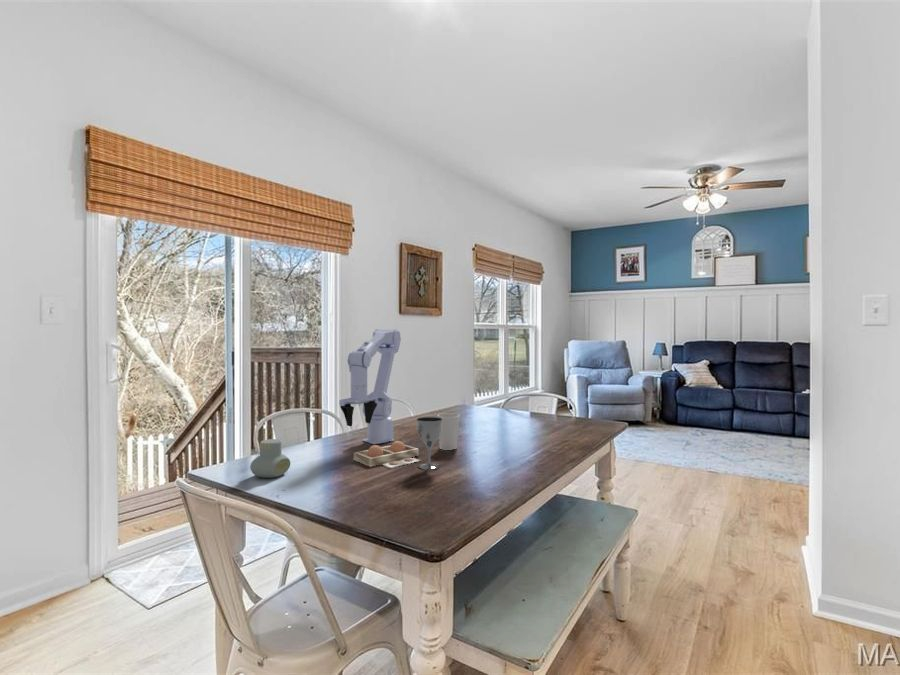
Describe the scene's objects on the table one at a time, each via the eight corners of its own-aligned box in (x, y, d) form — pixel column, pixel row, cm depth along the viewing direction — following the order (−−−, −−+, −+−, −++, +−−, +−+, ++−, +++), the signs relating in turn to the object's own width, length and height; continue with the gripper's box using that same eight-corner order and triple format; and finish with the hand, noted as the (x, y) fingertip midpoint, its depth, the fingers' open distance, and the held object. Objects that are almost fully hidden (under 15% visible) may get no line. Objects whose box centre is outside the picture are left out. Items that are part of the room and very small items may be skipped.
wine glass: (447, 466, 148) (447, 418, 148) (428, 472, 142) (429, 422, 142) (429, 462, 153) (429, 415, 153) (411, 467, 147) (411, 418, 147)
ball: (399, 453, 164) (399, 438, 164) (408, 456, 160) (408, 441, 160) (387, 455, 161) (387, 440, 161) (396, 458, 157) (396, 443, 157)
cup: (463, 447, 172) (463, 414, 172) (451, 452, 165) (451, 418, 165) (445, 444, 176) (445, 412, 176) (432, 449, 170) (433, 415, 169)
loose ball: (373, 457, 158) (373, 442, 158) (385, 459, 156) (386, 444, 156) (364, 461, 153) (364, 446, 153) (377, 463, 151) (377, 447, 151)
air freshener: (269, 482, 132) (269, 446, 131) (245, 479, 134) (245, 444, 134) (294, 471, 142) (294, 438, 142) (271, 468, 145) (271, 436, 144)
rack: (400, 450, 168) (400, 443, 168) (429, 459, 156) (429, 451, 156) (353, 460, 155) (353, 452, 155) (380, 470, 143) (381, 462, 143)
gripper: (369, 383, 174) (369, 420, 174) (334, 386, 164) (334, 425, 164) (381, 384, 169) (381, 422, 169) (345, 387, 159) (345, 428, 159)
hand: (358, 424), depth 166 cm, fingers open, 7 cm apart
